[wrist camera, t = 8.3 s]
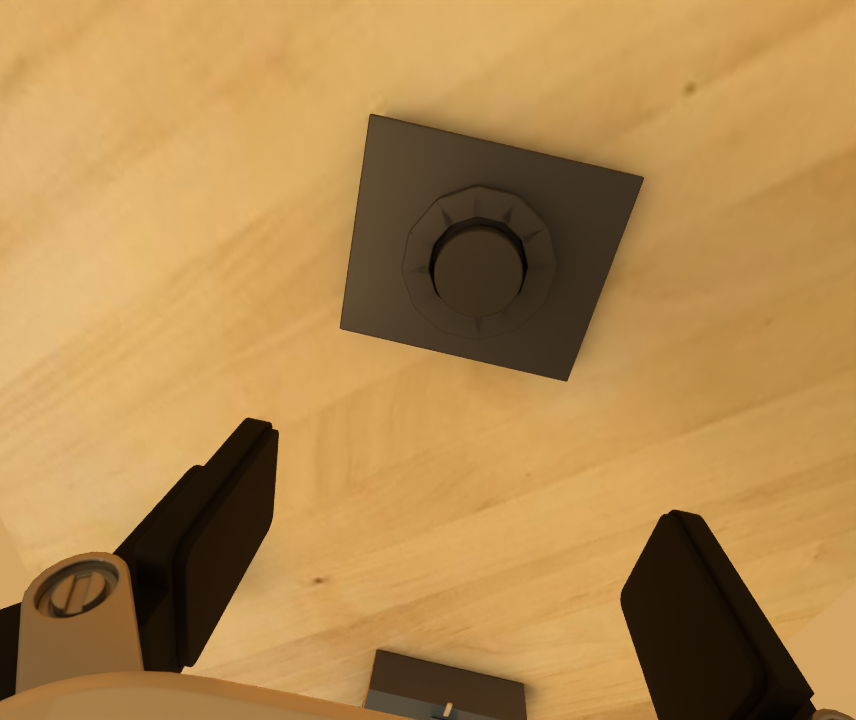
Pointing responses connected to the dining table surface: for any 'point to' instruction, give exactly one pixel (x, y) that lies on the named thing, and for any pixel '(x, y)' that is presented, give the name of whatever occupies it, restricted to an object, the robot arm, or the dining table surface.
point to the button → (478, 271)
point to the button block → (493, 206)
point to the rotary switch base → (439, 691)
